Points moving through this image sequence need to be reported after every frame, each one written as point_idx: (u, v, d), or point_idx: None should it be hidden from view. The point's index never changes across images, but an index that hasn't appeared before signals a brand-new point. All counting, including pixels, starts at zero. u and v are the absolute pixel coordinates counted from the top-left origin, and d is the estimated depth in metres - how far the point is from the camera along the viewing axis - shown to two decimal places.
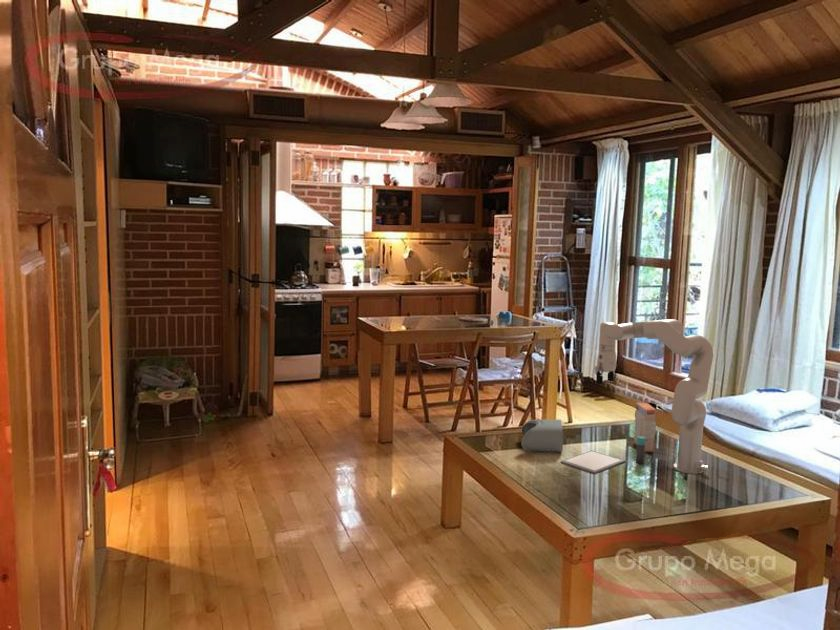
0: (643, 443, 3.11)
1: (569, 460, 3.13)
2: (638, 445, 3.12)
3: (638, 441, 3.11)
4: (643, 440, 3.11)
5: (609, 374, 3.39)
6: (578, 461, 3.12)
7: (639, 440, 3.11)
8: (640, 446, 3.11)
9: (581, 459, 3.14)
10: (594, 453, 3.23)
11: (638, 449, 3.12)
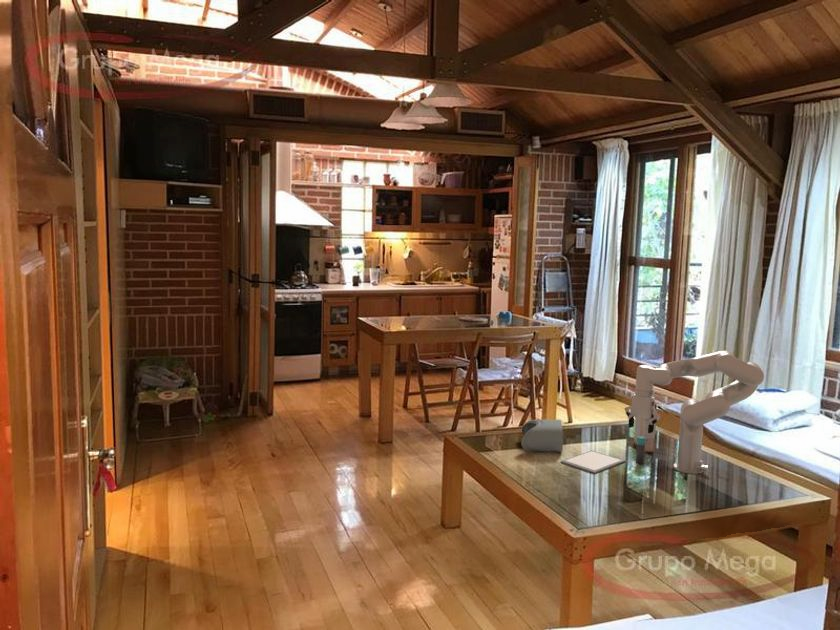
0: (643, 443, 3.11)
1: (569, 460, 3.13)
2: (638, 445, 3.12)
3: (638, 441, 3.11)
4: (643, 440, 3.11)
5: (631, 420, 3.14)
6: (578, 461, 3.12)
7: (639, 440, 3.11)
8: (640, 446, 3.11)
9: (581, 459, 3.14)
10: (594, 453, 3.23)
11: (638, 449, 3.12)
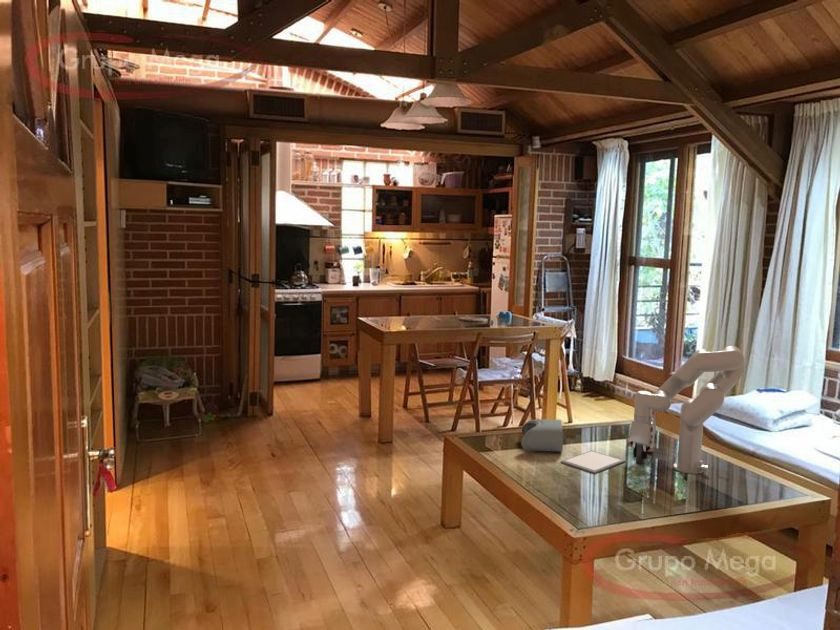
0: None
1: (569, 460, 3.13)
2: (638, 445, 3.12)
3: None
4: None
5: None
6: (578, 461, 3.12)
7: None
8: (640, 446, 3.11)
9: (581, 459, 3.14)
10: (594, 453, 3.23)
11: (638, 449, 3.12)
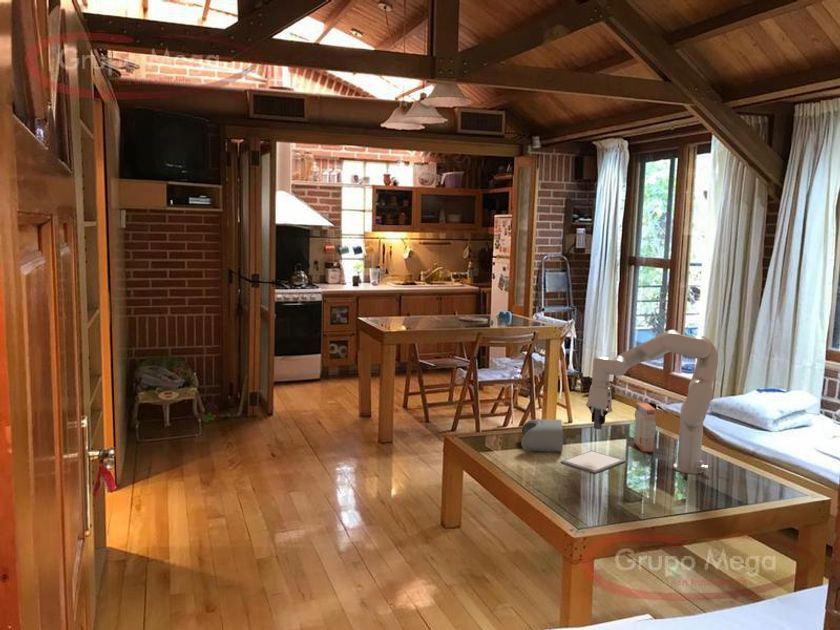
0: None
1: (569, 460, 3.13)
2: (596, 410, 3.16)
3: None
4: None
5: None
6: (578, 461, 3.12)
7: None
8: (598, 411, 3.16)
9: (581, 459, 3.14)
10: (594, 453, 3.23)
11: (596, 414, 3.17)
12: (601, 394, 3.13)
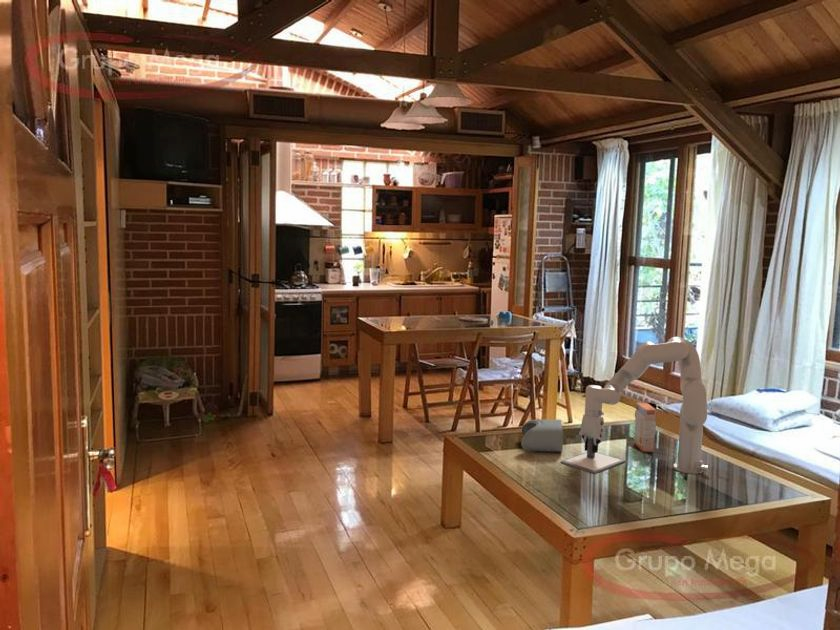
0: None
1: (569, 460, 3.13)
2: (589, 439, 3.15)
3: None
4: None
5: None
6: (578, 461, 3.12)
7: None
8: (591, 439, 3.15)
9: (581, 459, 3.14)
10: None
11: (589, 442, 3.15)
12: (594, 423, 3.12)
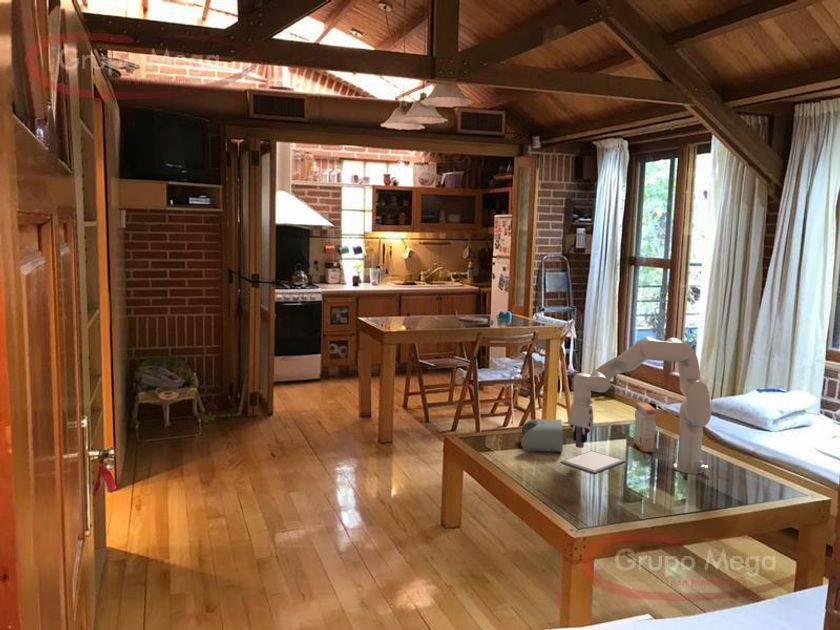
0: None
1: (569, 460, 3.13)
2: (577, 428, 3.08)
3: None
4: None
5: None
6: (578, 461, 3.12)
7: None
8: (579, 429, 3.07)
9: (581, 459, 3.14)
10: (594, 453, 3.23)
11: (577, 432, 3.08)
12: (582, 412, 3.05)
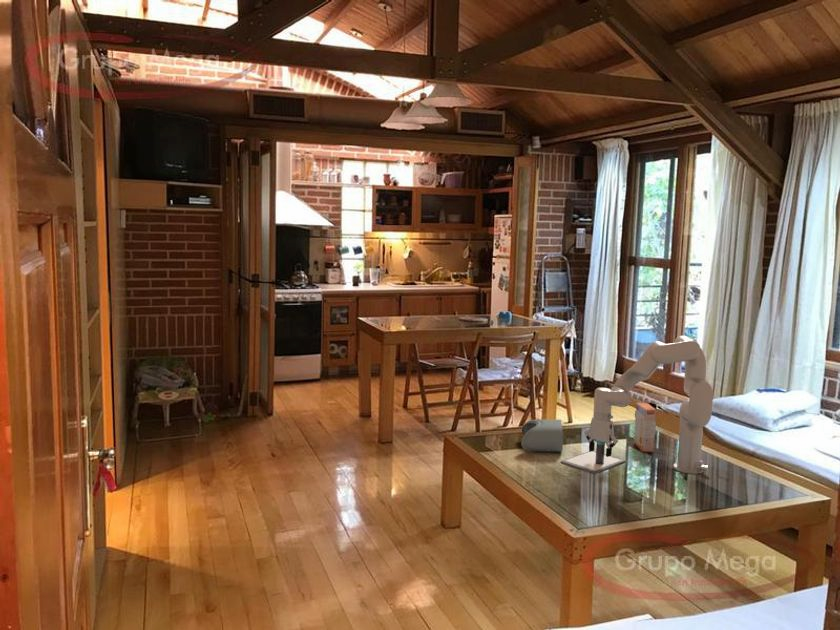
0: (603, 443, 3.07)
1: (569, 460, 3.13)
2: (598, 445, 3.07)
3: (598, 441, 3.07)
4: None
5: (592, 444, 3.11)
6: (578, 461, 3.12)
7: None
8: (600, 446, 3.07)
9: (581, 459, 3.14)
10: (594, 453, 3.23)
11: (598, 449, 3.08)
12: (603, 427, 3.04)
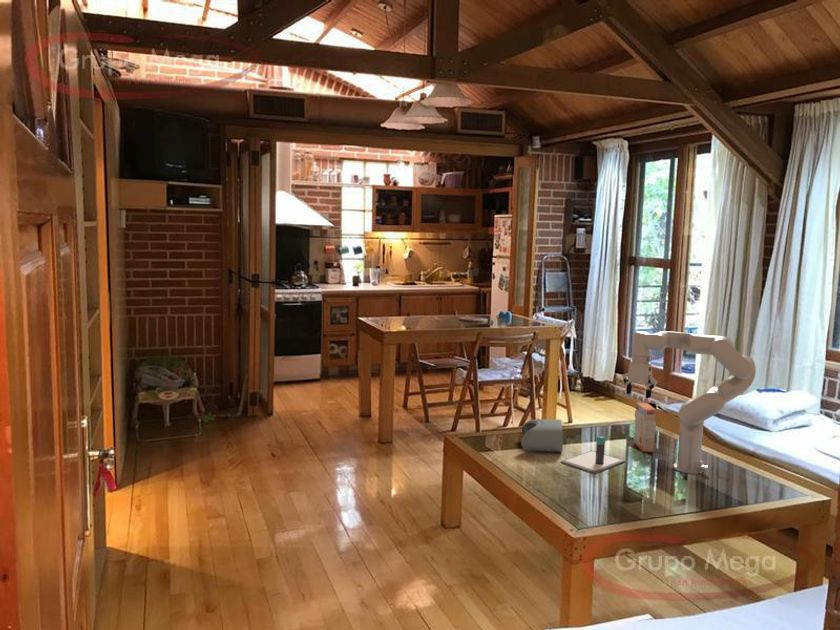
0: (602, 443, 3.07)
1: (569, 460, 3.13)
2: (597, 445, 3.08)
3: (597, 441, 3.07)
4: (602, 440, 3.07)
5: (629, 387, 3.17)
6: (578, 461, 3.12)
7: (598, 440, 3.07)
8: (599, 446, 3.07)
9: (581, 459, 3.14)
10: (594, 453, 3.23)
11: (597, 449, 3.08)
12: (642, 369, 3.09)
